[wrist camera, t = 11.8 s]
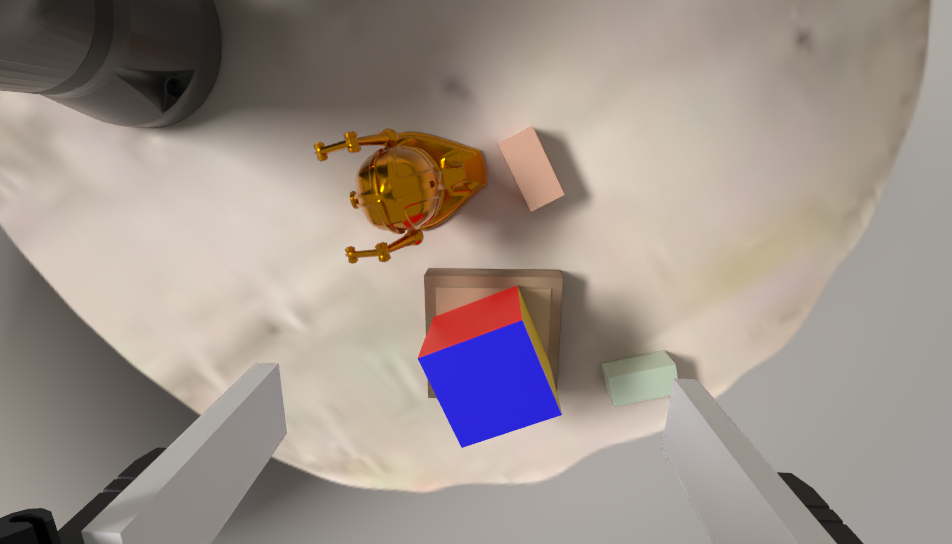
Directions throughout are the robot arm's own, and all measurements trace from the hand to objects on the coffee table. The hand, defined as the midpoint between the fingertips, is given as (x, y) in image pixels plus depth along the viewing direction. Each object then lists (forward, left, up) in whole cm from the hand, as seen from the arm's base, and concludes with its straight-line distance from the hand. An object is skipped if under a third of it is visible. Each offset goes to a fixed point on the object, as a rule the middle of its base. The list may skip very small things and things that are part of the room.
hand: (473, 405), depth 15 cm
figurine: (-6, +6, -26) cm, 28 cm away
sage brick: (+14, -12, -26) cm, 32 cm away
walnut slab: (0, -8, -26) cm, 28 cm away
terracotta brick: (+3, +7, -26) cm, 27 cm away
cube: (0, -8, -24) cm, 25 cm away
